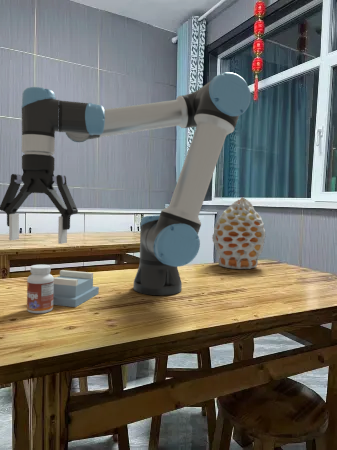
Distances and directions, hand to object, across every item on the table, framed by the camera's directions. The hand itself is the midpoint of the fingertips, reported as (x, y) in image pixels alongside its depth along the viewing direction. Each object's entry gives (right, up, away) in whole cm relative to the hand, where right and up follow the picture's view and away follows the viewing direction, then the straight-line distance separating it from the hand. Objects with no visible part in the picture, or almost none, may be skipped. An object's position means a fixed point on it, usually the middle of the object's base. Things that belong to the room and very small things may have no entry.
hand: (37, 241), depth 90 cm
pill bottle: (+1, -17, 0) cm, 17 cm away
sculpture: (+62, -14, +67) cm, 92 cm away
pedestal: (+4, -16, +12) cm, 20 cm away
